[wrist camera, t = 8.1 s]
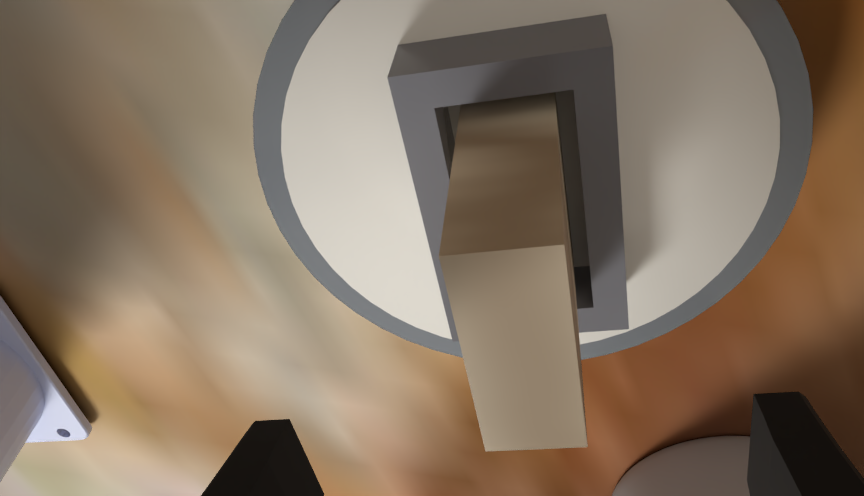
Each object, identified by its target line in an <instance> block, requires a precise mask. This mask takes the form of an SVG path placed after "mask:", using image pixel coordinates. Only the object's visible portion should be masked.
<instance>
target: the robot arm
mask: <svg viewBox="0 0 864 496" xmlns="http://www.w3.org/2000/svg"><path fill="white" fill-rule="evenodd" d="M91 430H92V427H91V424H90V423H89V421H88V420H87V418H86V417H85V416H84V414H83V413H82V411H81V410H80V408H79V407H78V406H77V404H76V403H75V401H74V400H73V398H72V397H71V396H70V394H69V393H68V391H67V390H66V388H65V387H64V386H63V384H62V383H61V381H60V380H59V378H58V377H57V376H56V374H55V373H54V371H53V370H52V368H51V367H50V366H49V364H48V363H47V361H46V360H45V359H44V357H43V356H42V354H41V353H40V351H39V350H38V349H37V347H36V346H35V344H34V343H33V341H32V340H31V339H30V337H29V336H28V334H27V333H26V331H25V330H24V329H23V327H22V326H21V324H20V323H19V321H18V320H17V319H16V317H15V316H14V314H13V313H12V311H11V310H10V309H9V307H8V306H7V304H6V303H5V301H4V300H3V299H2V297H1V296H0V482H1V480H2V479H3V477H4V476H5V474H6V472H7V471H8V469H9V468H10V466H11V464H12V463H13V461H14V460H15V458H16V457H17V455H18V453H19V452H20V450H21V449H22V447H23V445H24V444H25V443H28V442H48V441H68V440H82V439H86V438H87V437H88V436H89V434H90V432H91ZM747 483H748V488H749V493H750V496H864V478H863V477H862V476H861V475H860V473H859V472H858V471H857V469H856V468H855V467H854V465H853V464H852V463H851V461H850V460H849V459H848V457H847V456H846V455H845V453H844V452H843V451H842V449H841V448H840V446H839V445H838V444H837V442H836V441H835V439H834V438H833V437H832V435H831V434H830V432H829V431H828V430H827V428H826V427H825V425H824V424H823V422H822V421H821V419H820V418H819V416H818V415H817V413H816V412H815V410H814V409H813V407H812V406H811V404H810V403H809V401H808V400H807V398H806V397H805V396H804V395H802V394H801V393H800V392H784V393H765V394H754V397H753V409H752V422H751V434H750V446H749V459H748V471H747ZM201 496H324V493H323V491H322V488H321V486H320V484H319V482H318V480H317V478H316V475H315V473H314V471H313V469H312V467H311V465H310V462H309V460H308V458H307V456H306V454H305V452H304V450H303V447H302V445H301V443H300V441H299V439H298V437H297V434H296V432H295V430H294V428H293V426H292V424H291V421H290V419H284V420H266V421H255V422H254V423H253V424H252V425H251V427H250V428H249V429H248V431H247V432H246V433H245V435H244V436H243V438H242V439H241V440H240V442H239V443H238V445H237V446H236V447H235V449H234V450H233V452H232V453H231V455H230V456H229V457H228V459H227V460H226V462H225V463H224V464H223V466H222V467H221V469H220V470H219V471H218V473H217V474H216V476H215V477H214V478H213V480H212V481H211V483H210V484H209V485H208V487H207V488H206V490H205V491H204V492H203V494H202V495H201Z"/></svg>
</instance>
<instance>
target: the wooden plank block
mask: <svg viewBox="0 0 864 496" xmlns="http://www.w3.org/2000/svg"><path fill="white" fill-rule="evenodd" d="M439 260H440V264H441V268H442V272H443V276H444V280H445V285H446V289H447V293H448V297H449V301H450V305H451V310H452V314H453V318H454V322H455V326H456V330H457V335H458V339H459V343H460V347H461V351H462V355H463V360H464V364H465V368H466V372H467V376H468V380H469V384H470V389H471V393H472V397H473V401H474V405H475V409H476V414H477V418H478V422H479V426H480V430H481V434H482V439H483V443H484V447H485V451H506V450H530V449H553V448H577V447H588V446H587V433H586V420H585V407H584V393H583V380H582V367H581V353H580V340H579V327H578V313H577V300H576V287H575V274H574V260H573V249H572V240H571V231H570V222H569V212H568V203H567V194H566V184H565V175H564V166H563V156H562V147H561V138H560V128H559V119H558V110H557V101H556V92H553V93H545V94H538V95H530V96H522V97H515V98H507V99H500V100H492V101H484V102H477V103H469V104H462V105H461V106H460V112H459V119H458V126H457V133H456V140H455V147H454V154H453V161H452V168H451V175H450V182H449V188H448V195H447V202H446V209H445V216H444V223H443V230H442V237H441V244H440V251H439Z"/></svg>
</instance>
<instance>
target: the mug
mask: <svg viewBox="0 0 864 496" xmlns="http://www.w3.org/2000/svg"><path fill="white" fill-rule="evenodd" d="M749 446H750V436H717V437H707V438H701V439H695V440H691V441H687V442H683V443H679V444H676V445H673V446H670V447H667V448H664V449H662V450H660V451H658V452H655V453H653V454H651V455H650V456H648V457H646V458H644V459H643V460H641V461H640V462H638V463H637V464H636V465H634V466H633V467H632V468H631V469H630V470H629V471H628V472H627V473H626V474H625V475H624V476H623V477H622V479H621V480H620V481H619V483H618V484H617V486H616V488H615V490H614V492H613V494H612V496H750V493H749V488H748V483H747V471H748V459H749Z"/></svg>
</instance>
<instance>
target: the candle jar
mask: <svg viewBox="0 0 864 496" xmlns="http://www.w3.org/2000/svg"><path fill="white" fill-rule="evenodd" d="M553 92H556V101H557V110H558V119H559V128H560V138H561V147H562V156H563V166H564V175H565V184H566V194H567V203H568V212H569V222H570V231H571V240H572V249H573V260H574V274H575V287H576V300H577V313H578V327H579V340H580V353H581V360H582V359H587V358H592V357H597V356H602V355H607V354H610V353H614V352H617V351H620V350H624V349H627V348H630V347H633V346H637V345H639V344H642V343H644V342H646V341H649V340H651V339H654V338H656V337H658V336H661V335H663V334H665V333H667V332H669V331H671V330H673V329H675V328H677V327H678V326H680V325H682V324H684V323H686V322H688V321H690V320H692V319H693V318H694V317H696V316H697V315H699V314H700V313H702V312H703V311H705V310H706V309H708V308H709V307H711V306H712V305H714V304H715V303H716V302H718V301H719V300H720V299H721V298H722V297H724V296H725V295H726V294H727V293H728V292H729V291H731V290H732V289H733V288H734V287H735V286H736V285H738V284H739V283H740V282H741V281H742V280H743V279H744V278H745V277H746V276H747V274H748V273H749V272H750V271H751V270H752V269H753V268H754V267H755V266H756V265H757V264H758V262H759V261H760V260H761V259H762V258H763V256H764V255H765V254H766V252H767V251H768V249H769V248H770V247H771V245H772V244H773V242H774V241H775V240H776V238H777V237H778V235H779V234H780V232H781V230H782V229H783V227H784V225H785V223H786V221H787V219H788V217H789V215H790V213H791V212H792V210H793V208H794V206H795V203H796V201H797V198H798V195H799V192H800V189H801V187H802V184H803V181H804V178H805V175H806V171H807V166H808V161H809V155H810V150H811V145H812V129H813V104H812V96H811V88H810V81H809V74H808V71H807V67H806V64H805V61H804V58H803V54H802V51H801V48H800V45H799V41H798V39H797V37H796V35H795V33H794V31H793V29H792V27H791V25H790V23H789V21H788V19H787V17H786V15H785V13H784V11H783V9H782V7H781V6H780V4H779V3H778V2H777V0H295V1H294V2H293V4H292V5H291V7H290V8H289V10H288V11H287V13H286V15H285V16H284V18H283V19H282V21H281V23H280V25H279V27H278V29H277V31H276V34H275V36H274V38H273V40H272V42H271V44H270V46H269V48H268V50H267V53H266V57H265V60H264V63H263V67H262V70H261V74H260V77H259V80H258V84H257V91H256V99H255V106H254V113H253V129H254V150H255V157H256V163H257V169H258V175H259V178H260V182H261V185H262V188H263V191H264V194H265V198H266V201H267V204H268V206H269V208H270V210H271V212H272V214H273V217H274V219H275V221H276V223H277V225H278V227H279V229H280V231H281V233H282V234H283V236H284V237H285V239H286V240H287V242H288V244H289V245H290V247H291V248H292V250H293V251H294V253H295V254H296V256H297V257H298V258H299V259H300V260H301V262H302V263H303V264H304V265H305V267H306V268H307V269H308V270H309V271H310V273H311V274H312V275H313V276H314V277H315V278H316V279H317V280H318V281H319V282H320V283H321V284H322V285H323V286H324V287H325V288H326V289H327V290H328V291H330V292H331V293H332V294H333V295H334V296H335V297H336V298H338V299H339V300H340V301H342V302H343V303H344V304H345V305H347V306H348V307H349V308H351V309H352V310H353V311H355V312H356V313H357V314H359V315H361V316H362V317H364V318H366V319H367V320H369V321H370V322H372V323H374V324H375V325H377V326H379V327H380V328H382V329H384V330H386V331H389V332H391V333H393V334H395V335H397V336H399V337H401V338H403V339H405V340H408V341H410V342H413V343H416V344H419V345H421V346H424V347H427V348H429V349H432V350H436V351H439V352H443V353H447V354H451V355H455V356H458V357H463V355H462V351H461V347H460V343H459V339H458V335H457V330H456V326H455V322H454V318H453V314H452V310H451V305H450V301H449V297H448V293H447V289H446V285H445V280H444V276H443V272H442V268H441V264H440V260H439V251H440V244H441V237H442V230H443V223H444V216H445V209H446V202H447V195H448V188H449V182H450V175H451V168H452V161H453V154H454V147H455V140H456V133H457V126H458V119H459V112H460V106H461V105H462V104H469V103H477V102H484V101H492V100H500V99H507V98H515V97H522V96H530V95H538V94H545V93H553Z"/></svg>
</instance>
